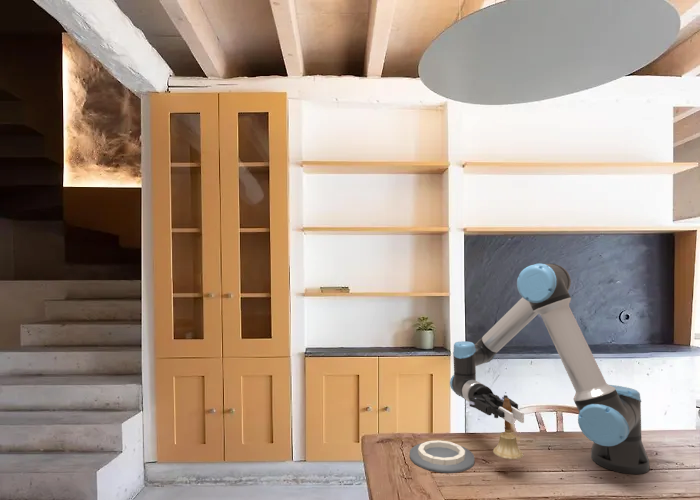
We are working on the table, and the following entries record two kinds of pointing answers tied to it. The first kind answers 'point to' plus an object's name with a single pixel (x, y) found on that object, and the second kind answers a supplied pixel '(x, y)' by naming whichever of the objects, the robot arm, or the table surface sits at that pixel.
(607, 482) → the table surface
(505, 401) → the hand bell
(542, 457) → the table surface
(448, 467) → the ring tray
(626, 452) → the robot arm
